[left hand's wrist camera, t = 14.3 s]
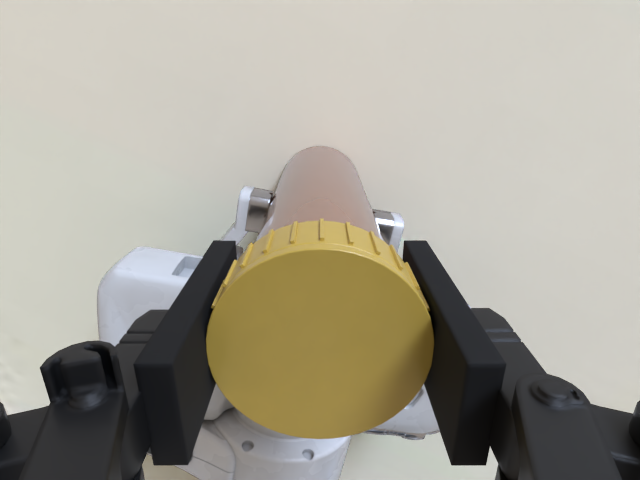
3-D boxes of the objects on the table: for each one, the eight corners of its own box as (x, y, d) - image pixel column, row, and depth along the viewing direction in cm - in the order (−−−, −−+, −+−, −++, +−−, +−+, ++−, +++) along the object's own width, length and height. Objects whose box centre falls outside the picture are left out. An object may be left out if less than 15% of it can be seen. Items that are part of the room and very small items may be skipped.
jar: (279, 220, 28) (225, 413, 12) (281, 143, 26) (220, 249, 10) (355, 224, 28) (403, 421, 12) (362, 148, 26) (430, 260, 10)
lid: (227, 389, 13) (212, 440, 12) (213, 215, 11) (191, 243, 9) (409, 391, 13) (423, 442, 12) (430, 218, 11) (452, 247, 9)
